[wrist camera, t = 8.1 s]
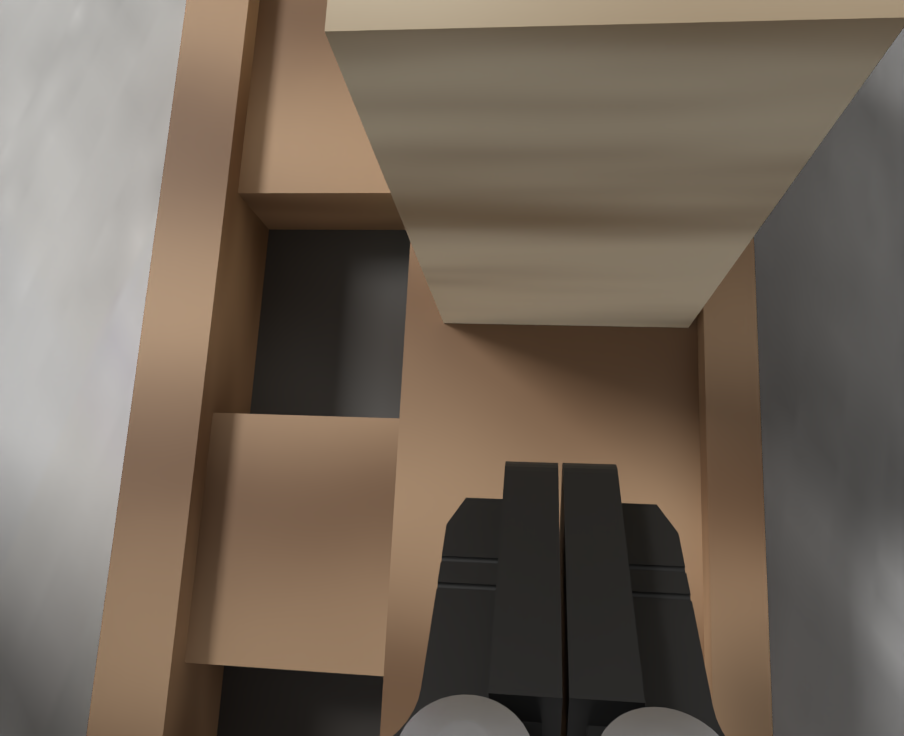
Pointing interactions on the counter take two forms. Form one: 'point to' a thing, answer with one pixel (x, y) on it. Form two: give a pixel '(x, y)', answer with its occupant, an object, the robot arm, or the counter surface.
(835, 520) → the counter surface
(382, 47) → the maple block
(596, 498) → the robot arm
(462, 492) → the trap deck
